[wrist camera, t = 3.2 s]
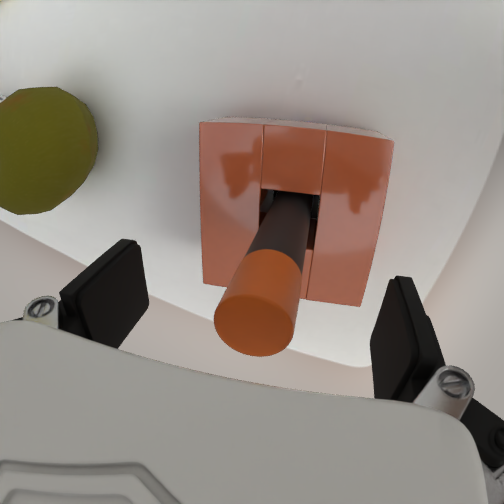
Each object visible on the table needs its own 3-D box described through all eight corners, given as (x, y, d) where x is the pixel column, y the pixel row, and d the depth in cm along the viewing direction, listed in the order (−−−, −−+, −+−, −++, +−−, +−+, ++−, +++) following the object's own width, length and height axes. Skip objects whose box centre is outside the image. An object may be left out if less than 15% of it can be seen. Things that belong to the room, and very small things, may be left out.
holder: (378, 131, 18) (394, 140, 14) (355, 267, 23) (360, 307, 19) (226, 116, 20) (199, 122, 16) (225, 249, 25) (203, 283, 20)
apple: (139, 143, 22) (33, 185, 13) (79, 208, 26) (-7, 264, 17) (80, 59, 20) (-26, 67, 10) (31, 133, 24) (-57, 164, 14)
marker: (315, 178, 21) (298, 302, 9) (312, 213, 22) (288, 363, 10) (279, 174, 21) (211, 288, 9) (277, 208, 22) (214, 349, 10)
